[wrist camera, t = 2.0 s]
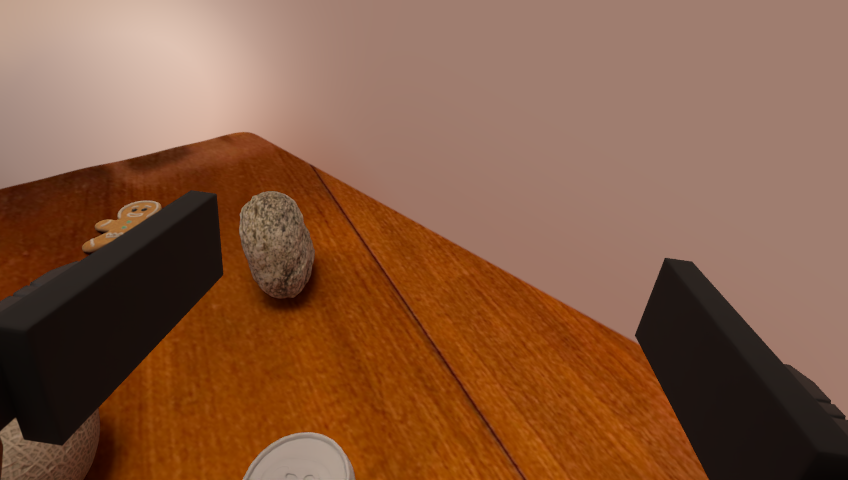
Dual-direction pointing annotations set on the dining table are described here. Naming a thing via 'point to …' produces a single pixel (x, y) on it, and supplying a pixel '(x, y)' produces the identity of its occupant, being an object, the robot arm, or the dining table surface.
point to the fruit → (49, 454)
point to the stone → (276, 244)
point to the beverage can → (301, 460)
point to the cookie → (121, 223)
